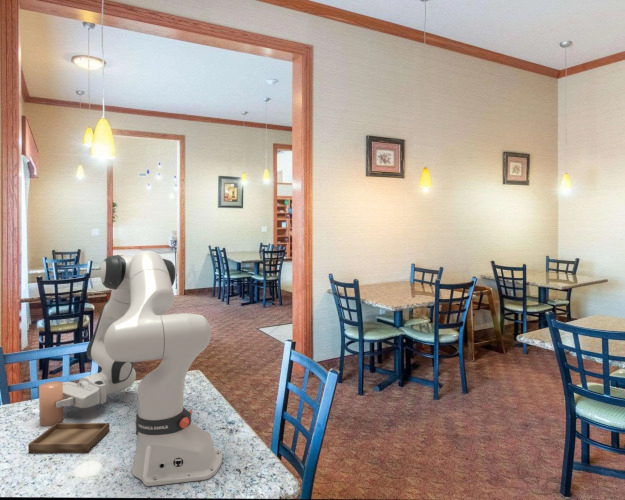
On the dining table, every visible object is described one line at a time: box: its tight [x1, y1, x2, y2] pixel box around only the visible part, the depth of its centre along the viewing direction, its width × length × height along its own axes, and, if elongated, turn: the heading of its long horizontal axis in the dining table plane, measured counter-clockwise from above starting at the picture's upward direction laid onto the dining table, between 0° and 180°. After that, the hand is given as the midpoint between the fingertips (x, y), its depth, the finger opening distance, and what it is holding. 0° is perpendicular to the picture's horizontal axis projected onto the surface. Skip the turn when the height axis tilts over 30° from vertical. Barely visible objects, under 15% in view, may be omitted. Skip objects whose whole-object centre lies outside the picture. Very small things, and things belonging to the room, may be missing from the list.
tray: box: [27, 422, 110, 454], centre depth 124 cm, size 16×13×2 cm
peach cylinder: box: [38, 380, 64, 428], centre depth 136 cm, size 6×6×12 cm
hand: (48, 402), depth 135 cm, fingers closed on peach cylinder, 6 cm apart
